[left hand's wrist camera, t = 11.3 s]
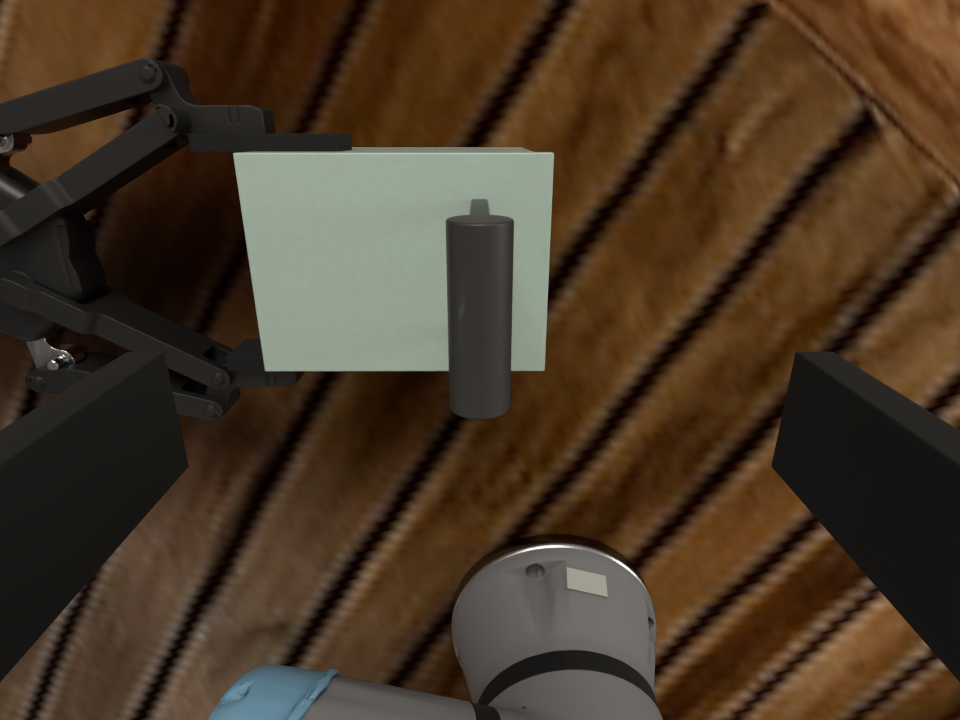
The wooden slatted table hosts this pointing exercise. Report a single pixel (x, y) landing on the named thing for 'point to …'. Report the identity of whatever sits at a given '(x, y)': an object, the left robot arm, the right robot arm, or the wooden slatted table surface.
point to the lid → (402, 264)
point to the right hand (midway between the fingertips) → (354, 255)
